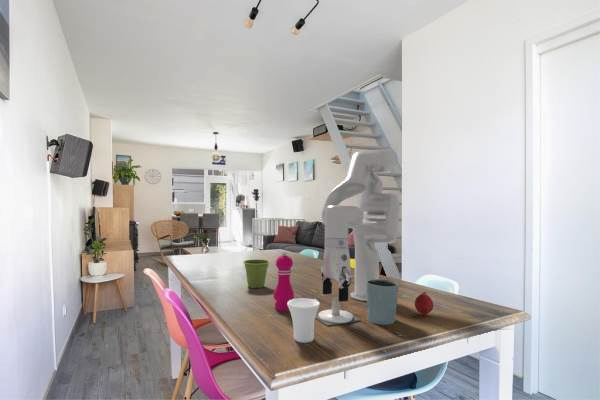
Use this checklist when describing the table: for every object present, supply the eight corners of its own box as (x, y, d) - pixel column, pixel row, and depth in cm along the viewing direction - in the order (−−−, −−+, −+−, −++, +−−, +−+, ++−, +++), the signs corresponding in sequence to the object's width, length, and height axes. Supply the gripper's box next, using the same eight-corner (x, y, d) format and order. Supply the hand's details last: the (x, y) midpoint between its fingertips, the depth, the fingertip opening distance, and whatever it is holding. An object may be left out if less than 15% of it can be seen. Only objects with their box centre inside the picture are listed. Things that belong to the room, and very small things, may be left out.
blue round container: (363, 314, 111) (363, 278, 111) (393, 315, 110) (394, 279, 111) (368, 325, 101) (369, 285, 101) (402, 326, 100) (402, 286, 101)
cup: (327, 340, 89) (327, 302, 89) (298, 348, 83) (299, 308, 84) (307, 329, 96) (307, 295, 96) (280, 336, 91) (280, 300, 91)
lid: (340, 310, 114) (341, 292, 114) (359, 320, 104) (360, 301, 104) (312, 314, 109) (312, 295, 109) (329, 325, 99) (329, 304, 99)
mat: (342, 311, 113) (342, 310, 113) (360, 321, 104) (360, 319, 104) (311, 316, 108) (311, 314, 108) (327, 326, 99) (327, 324, 99)
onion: (424, 319, 107) (424, 294, 107) (410, 314, 112) (411, 290, 112) (437, 316, 109) (437, 292, 110) (423, 311, 114) (423, 288, 115)
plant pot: (239, 289, 143) (239, 263, 143) (247, 283, 155) (248, 258, 155) (265, 290, 141) (265, 264, 141) (272, 284, 153) (272, 259, 153)
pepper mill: (291, 311, 112) (292, 253, 113) (270, 310, 114) (271, 252, 114) (295, 305, 120) (296, 250, 120) (276, 304, 121) (277, 249, 121)
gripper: (361, 246, 100) (360, 303, 99) (332, 241, 116) (331, 290, 115) (340, 246, 97) (339, 305, 96) (313, 241, 113) (311, 292, 112)
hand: (334, 297), depth 106 cm, fingers open, 9 cm apart
